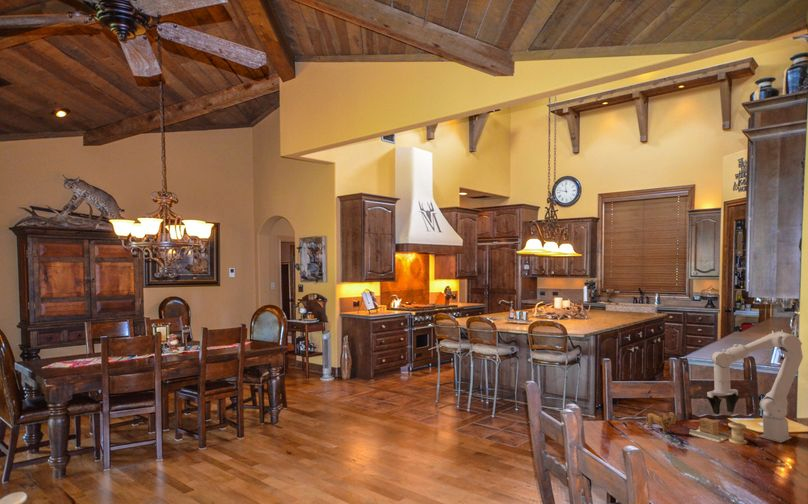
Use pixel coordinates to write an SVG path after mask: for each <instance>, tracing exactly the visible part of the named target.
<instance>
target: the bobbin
mask: <svg viewBox="0 0 808 504" xmlns="http://www.w3.org/2000/svg"><path fill="white" fill-rule="evenodd" d="M728 427H729V428H731V431H730V432H731V437H730V438H729V439H728V442H729V443H731V444H734V445H740V446H741V445H743V446H744V445H747V443H748V441H747V440H746V439H744V438H745V437H744V430H746V429H747V425H746V424H744V423H741V422H734V421H733V422H728Z"/></svg>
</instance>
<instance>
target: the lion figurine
mask: <svg viewBox="0 0 808 504" xmlns="http://www.w3.org/2000/svg"><path fill="white" fill-rule="evenodd" d="M645 418H646V419H645V421H644V423H643V424H641V426H642V427H644V426H645V425H646V424H647V426H646V427H648V428H649V430H650V431H652V430H653V429H654V428H652V427H651V426H652V423H655V424H656V425H659V426H661V428H662V433H663V434H665V435H666V434H667V433H669V430H667V428H670V427H671V426H672V425H673V426H674V425H675V424H676V422H677V416H676V414H675V413H674V412H671V411H670V412H667V413H664V414H660V415H657V414H655V413H652V412H650V413H648V414H647V415H646V417H645Z"/></svg>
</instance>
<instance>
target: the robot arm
mask: <svg viewBox="0 0 808 504" xmlns="http://www.w3.org/2000/svg"><path fill="white" fill-rule="evenodd" d="M802 344H803V343H802V341H801V340H800V339H799V338H798V336H797V335H795V334H792V333H787V332H784V331H781V330H780V331H779V330H778V331H775V332H774V333H773V332H771V333H769V334H767V335H765V336H763V337H760V338H758V339H755V340H753V341H752V342H749V343H748V344H747V343H746V344H745V345H744V344H740V343H739V344H737V343H735V344H733V345H732V346H731V347H728V348H727V349H725V348H723V349H721V351H715V352H713V354H712V355H711V357H710V360H711V362H712V363H713V379H714V380H713V381H714V382H713V383H714V385H713V386H714V389H713V390H711V391H710V390H709V391H707V392H706V394H707V395H706V399H707V400H708V403H710V405H711V408H712V412H713V414H715V415H720V413H721V412H720V411H721V408H720V407H721V402H722V400H723V399H721V398H719V397H724V398H725V403H726V410H727V412H729V413H730V414H733V413H734V411H735V407H736V404H737V402H738V400H739V399H740V396H739V390H738V389H735V388H732V389H731V370H730V369H731V367H730V366H731V365H732V364H733V363H735V362H738V361H740V360H743V359H746V358H748V357H749V355H750V353H753V352H756V351H758V350H761V349H765V348H767V347H768V348H769V347H774V348H775V347H776V348H778V349H779V350H780V351H781V353H782V354H783V355H784V358H783V361H782V362H781V365H780V369H779V371H778V373H777V375H776V377H775V380H774V382H773V385H772V387H771V389H770V390H769V392H767V393H765V396H764V397H763V398H762V399H760V401H759V407H760V409H761V410H762V429H763V434H760V435H759V436H758V437H759V438H762V439H765V440H766V439H767V440H770V441H774V442H777V443H783V442H786V441H788V440H791V439H792V436H790V434H789V433H790V432H789V421H788V419H787V418H786V416H787V414H788V404H789V403H788V398H787V397H788V394H789V392H790V389H791V387H792V384H793V382H794V379H795V377H796V375H797V373H798V369H799V367H800V365H801V363H802V361H803V357H804V355H803V351H802Z"/></svg>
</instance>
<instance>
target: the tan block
mask: <svg viewBox="0 0 808 504" xmlns="http://www.w3.org/2000/svg"><path fill="white" fill-rule="evenodd" d="M698 420H699V426H700V432H703V433H707V434H711V435H714V436H719V431H720V425H719V423H720V422H719V421H717V420H714V419H710V418H708V417H703V418H702V417H701V418H699V419H698Z"/></svg>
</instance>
